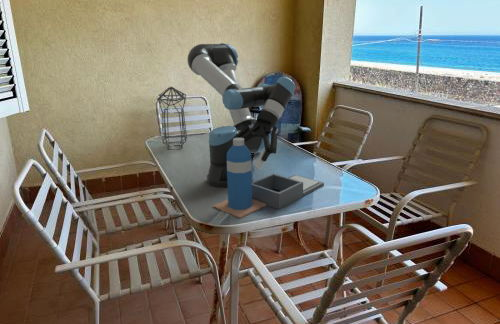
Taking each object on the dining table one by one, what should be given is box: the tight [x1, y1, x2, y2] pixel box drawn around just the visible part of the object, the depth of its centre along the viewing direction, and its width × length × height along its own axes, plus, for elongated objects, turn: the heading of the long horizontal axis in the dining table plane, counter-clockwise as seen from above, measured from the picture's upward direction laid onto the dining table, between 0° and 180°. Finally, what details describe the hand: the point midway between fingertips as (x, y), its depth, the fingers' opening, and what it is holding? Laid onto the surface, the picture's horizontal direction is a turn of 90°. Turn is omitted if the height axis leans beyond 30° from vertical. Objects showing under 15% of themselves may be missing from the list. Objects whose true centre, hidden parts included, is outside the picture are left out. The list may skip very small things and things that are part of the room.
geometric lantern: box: [156, 86, 188, 149], centre depth 204 cm, size 16×16×35 cm
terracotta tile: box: [212, 198, 268, 219], centre depth 133 cm, size 14×14×1 cm
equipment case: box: [252, 173, 325, 210], centre depth 145 cm, size 15×30×6 cm, turn 137°
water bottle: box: [227, 138, 253, 210], centre depth 129 cm, size 9×9×25 cm
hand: (242, 164), depth 128 cm, fingers open, 13 cm apart
